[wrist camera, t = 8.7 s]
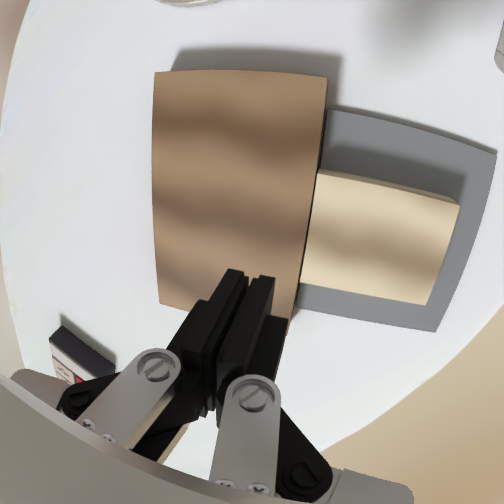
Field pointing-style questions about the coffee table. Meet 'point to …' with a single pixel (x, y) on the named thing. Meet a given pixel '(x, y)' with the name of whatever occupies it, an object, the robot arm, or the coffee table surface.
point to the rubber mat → (416, 176)
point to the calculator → (76, 358)
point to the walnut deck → (233, 179)
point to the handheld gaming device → (500, 52)
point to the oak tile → (376, 237)
